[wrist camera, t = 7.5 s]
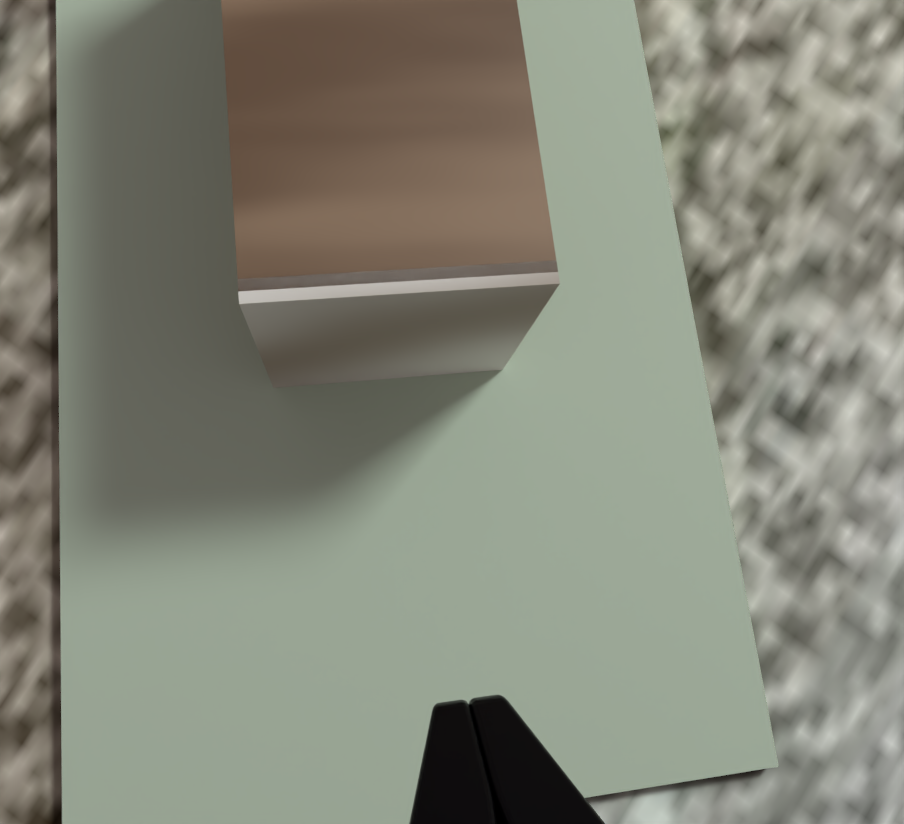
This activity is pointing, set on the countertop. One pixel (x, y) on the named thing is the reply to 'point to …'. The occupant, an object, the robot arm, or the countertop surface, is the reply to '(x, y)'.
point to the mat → (376, 474)
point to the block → (384, 186)
